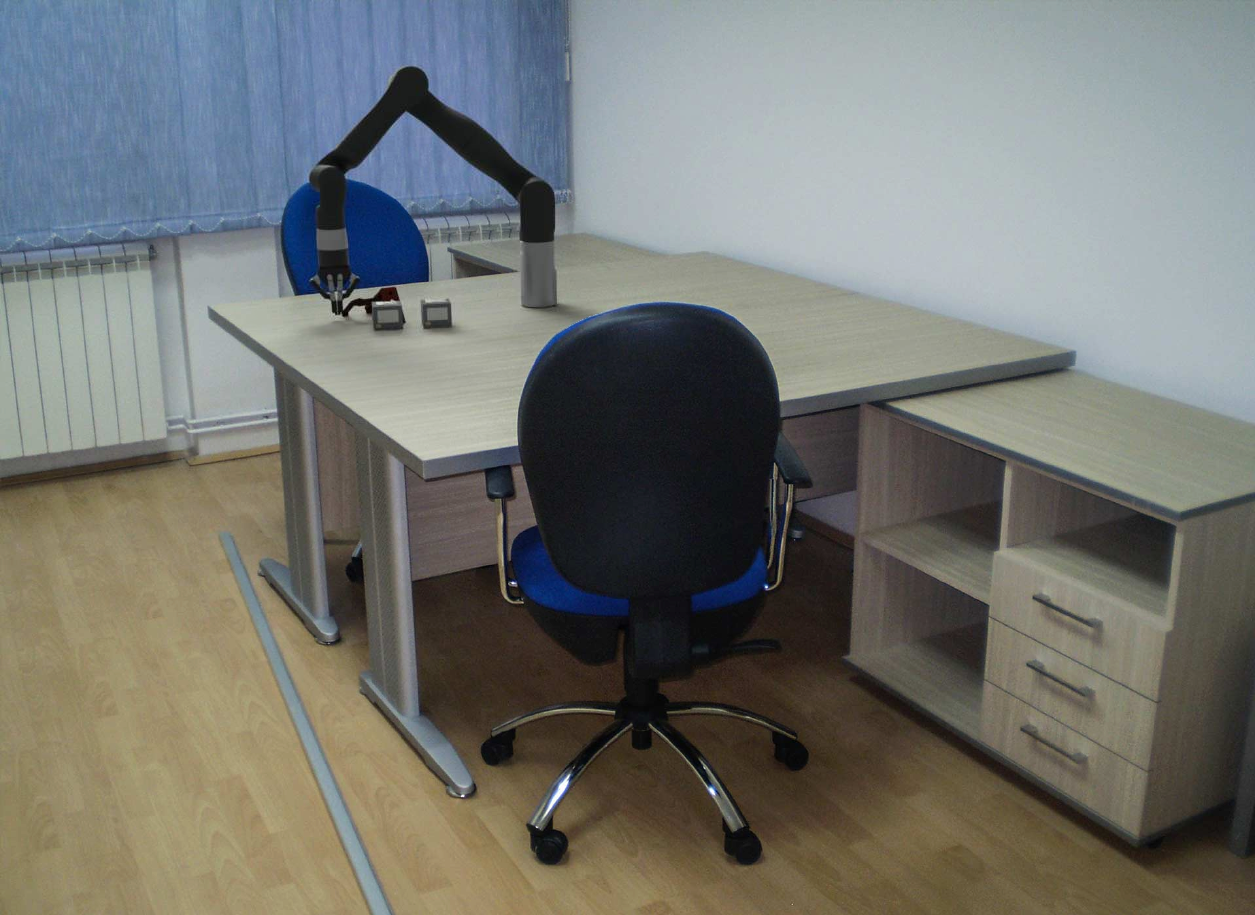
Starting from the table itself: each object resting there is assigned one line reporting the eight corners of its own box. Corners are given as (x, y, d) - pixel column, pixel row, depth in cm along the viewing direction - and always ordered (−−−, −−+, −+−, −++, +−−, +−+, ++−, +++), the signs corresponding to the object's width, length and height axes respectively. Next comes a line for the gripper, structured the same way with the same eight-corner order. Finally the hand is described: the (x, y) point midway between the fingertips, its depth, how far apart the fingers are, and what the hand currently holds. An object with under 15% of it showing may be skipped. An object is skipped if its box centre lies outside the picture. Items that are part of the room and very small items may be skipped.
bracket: (367, 328, 315) (357, 290, 316) (350, 346, 327) (340, 310, 328) (406, 323, 320) (396, 285, 321) (387, 341, 332) (378, 305, 333)
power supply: (401, 324, 319) (400, 300, 317) (403, 329, 313) (401, 304, 311) (373, 325, 317) (371, 301, 315) (374, 331, 311) (372, 306, 309)
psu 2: (449, 321, 321) (448, 297, 319) (452, 327, 315) (451, 302, 314) (421, 323, 320) (420, 299, 318) (423, 328, 314) (422, 303, 312)
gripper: (358, 243, 322) (363, 310, 328) (305, 245, 320) (311, 313, 325) (360, 247, 316) (364, 316, 321) (305, 249, 313) (311, 319, 318)
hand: (337, 314), depth 323 cm, fingers closed
